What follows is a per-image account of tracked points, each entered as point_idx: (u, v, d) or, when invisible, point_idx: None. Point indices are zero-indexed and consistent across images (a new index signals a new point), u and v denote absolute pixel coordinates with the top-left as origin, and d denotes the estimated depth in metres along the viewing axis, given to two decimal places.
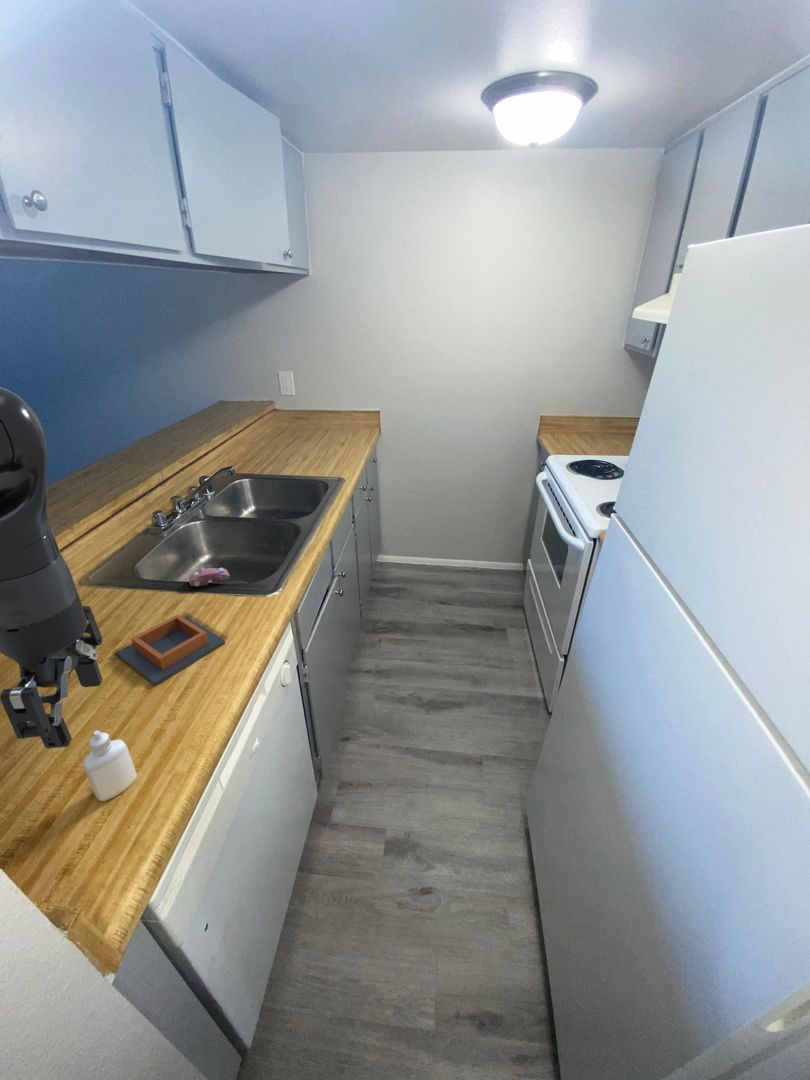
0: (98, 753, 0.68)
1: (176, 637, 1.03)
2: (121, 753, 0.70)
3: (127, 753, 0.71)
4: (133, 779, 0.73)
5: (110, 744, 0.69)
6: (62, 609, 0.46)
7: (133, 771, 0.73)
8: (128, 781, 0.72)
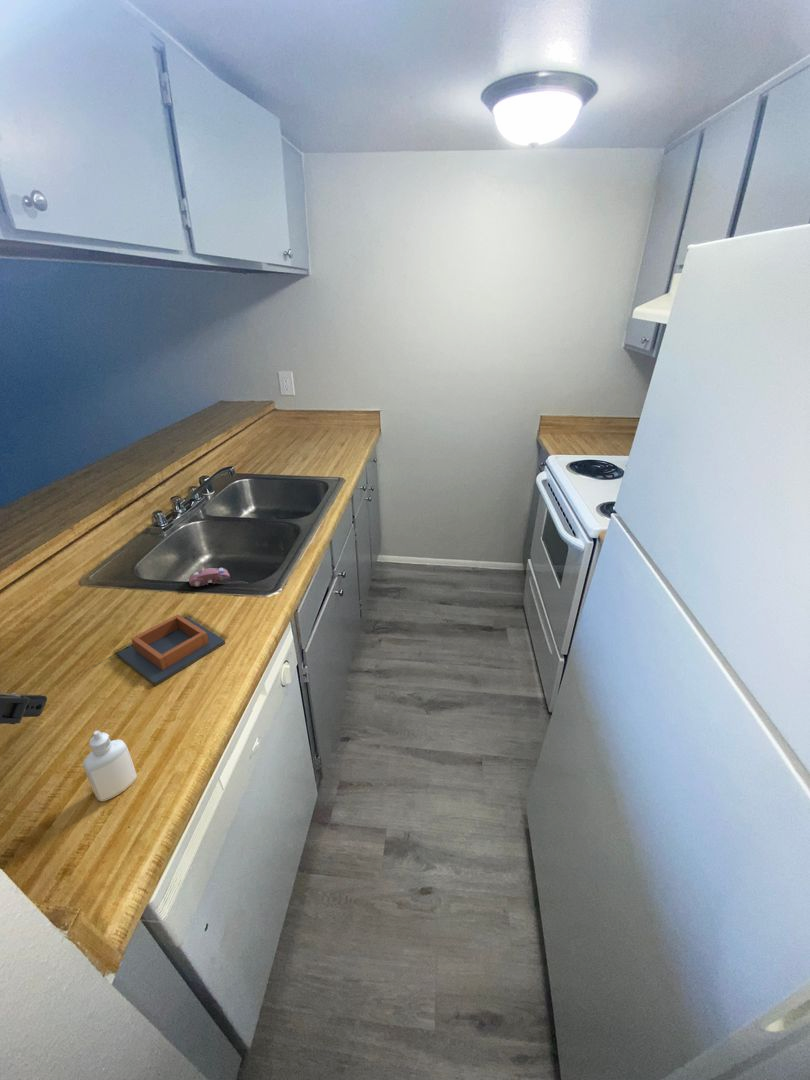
0: (98, 753, 0.68)
1: (176, 637, 1.03)
2: (121, 753, 0.70)
3: (127, 753, 0.71)
4: (133, 779, 0.73)
5: (110, 744, 0.69)
6: None
7: (133, 771, 0.73)
8: (128, 781, 0.72)
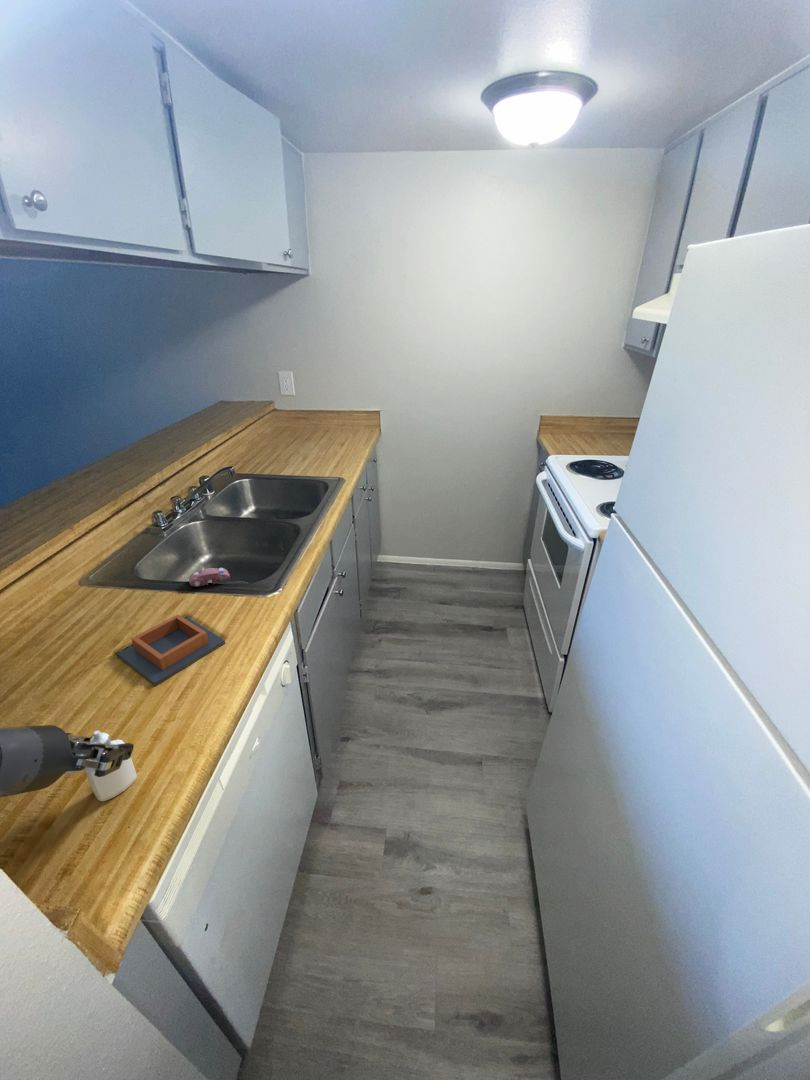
0: None
1: (176, 637, 1.03)
2: None
3: None
4: (133, 779, 0.73)
5: (110, 744, 0.69)
6: None
7: (133, 771, 0.73)
8: (128, 781, 0.72)
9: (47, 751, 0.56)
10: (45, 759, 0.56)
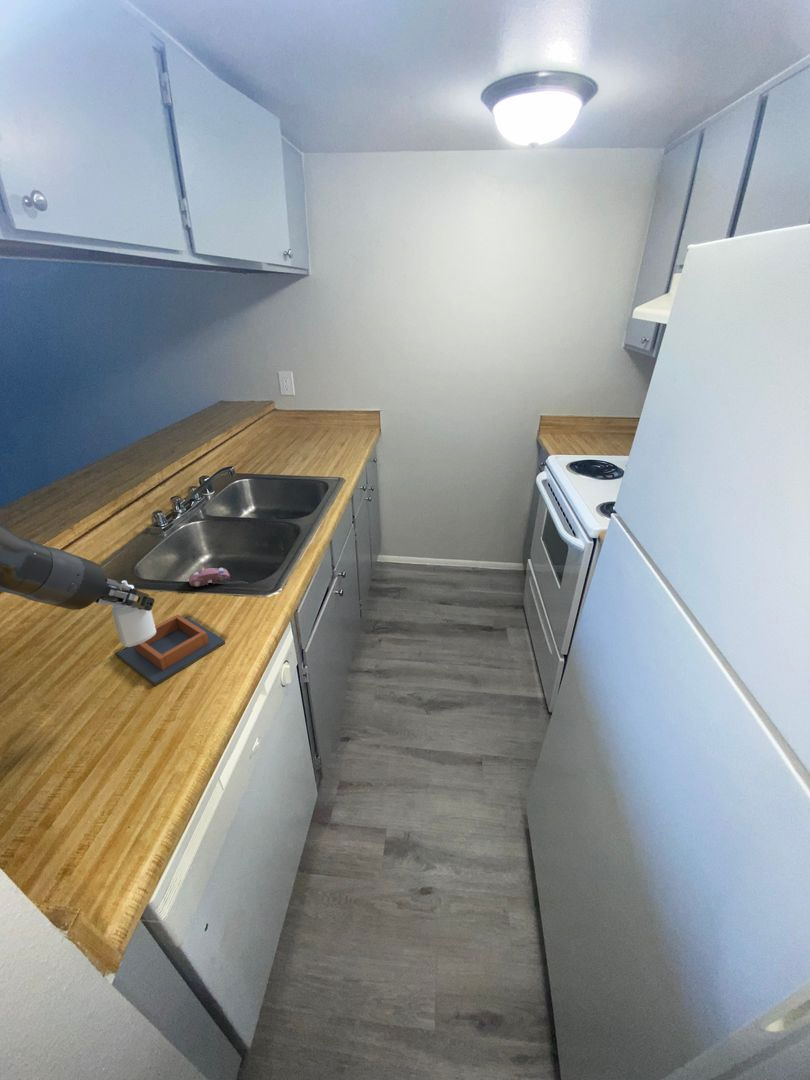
0: None
1: (176, 637, 1.03)
2: None
3: None
4: (153, 633, 0.84)
5: None
6: None
7: (153, 625, 0.84)
8: (149, 633, 0.83)
9: (87, 572, 0.67)
10: (85, 577, 0.67)
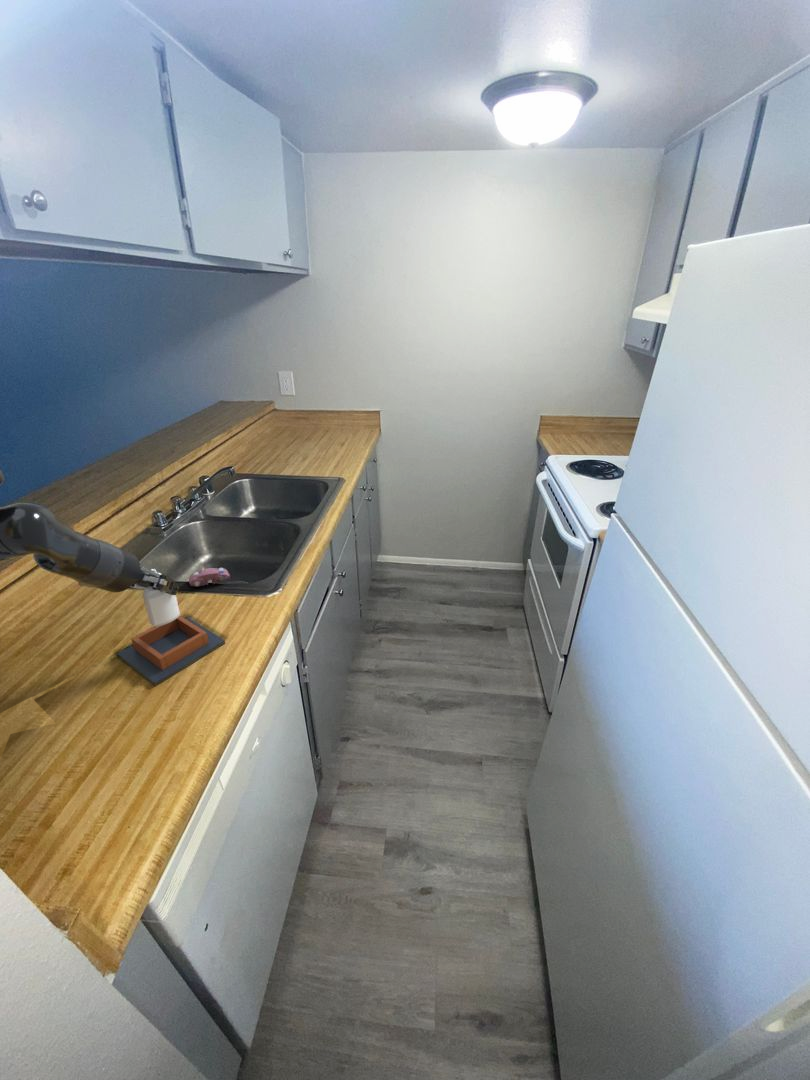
0: None
1: (176, 637, 1.03)
2: None
3: None
4: (177, 615, 0.97)
5: None
6: None
7: (177, 608, 0.97)
8: (174, 615, 0.96)
9: (126, 560, 0.80)
10: (125, 564, 0.80)
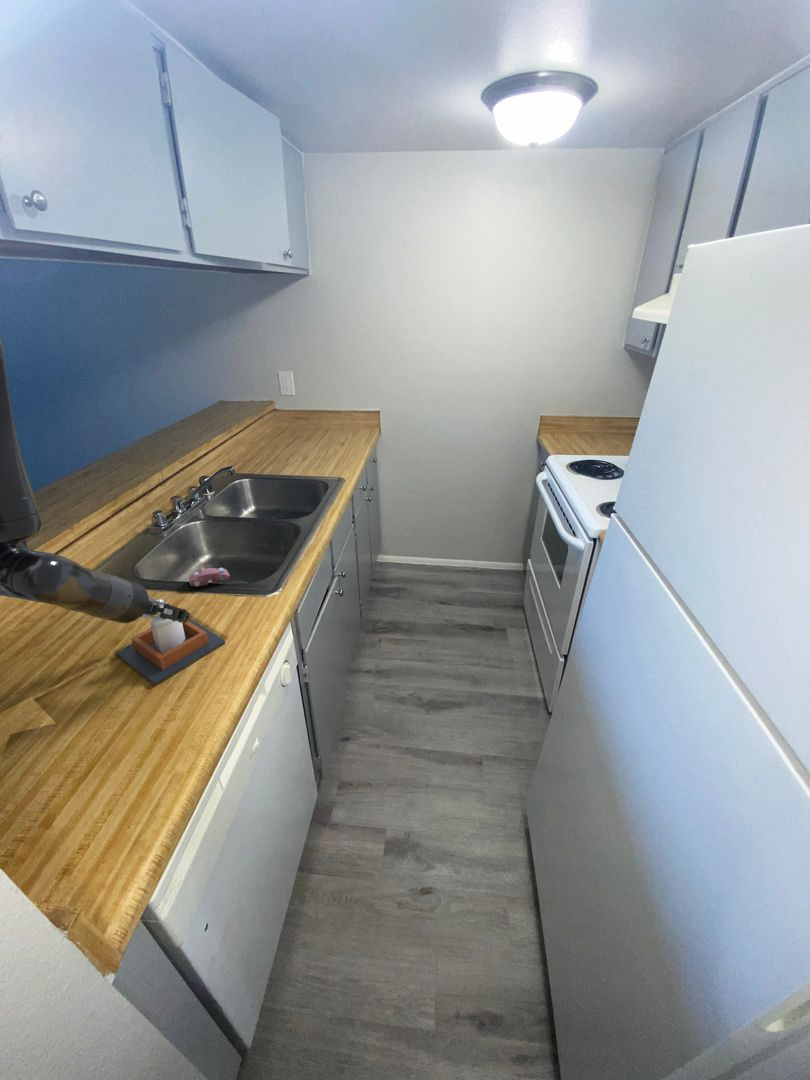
0: None
1: None
2: None
3: None
4: None
5: None
6: None
7: (184, 636, 1.00)
8: (180, 642, 1.00)
9: (135, 593, 0.83)
10: (134, 597, 0.83)
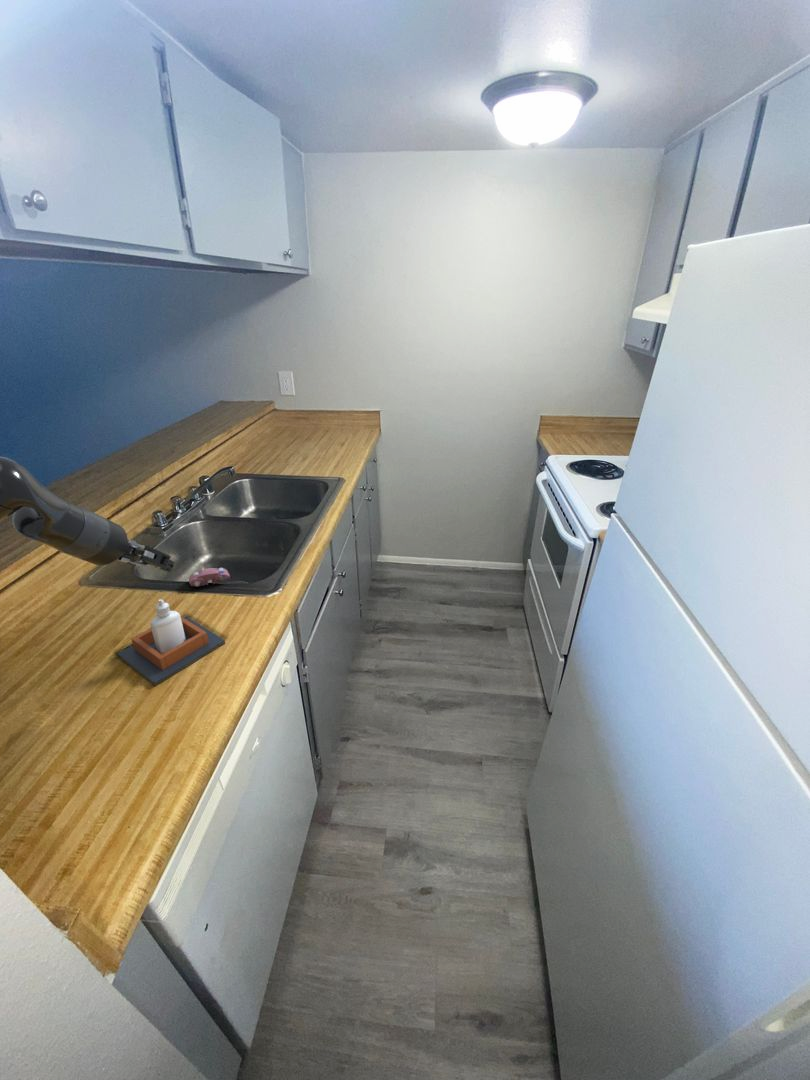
0: (161, 615, 0.95)
1: None
2: (176, 619, 0.97)
3: (180, 620, 0.98)
4: None
5: (169, 610, 0.96)
6: None
7: (184, 636, 1.00)
8: (180, 642, 1.00)
9: (112, 531, 0.76)
10: (111, 535, 0.76)
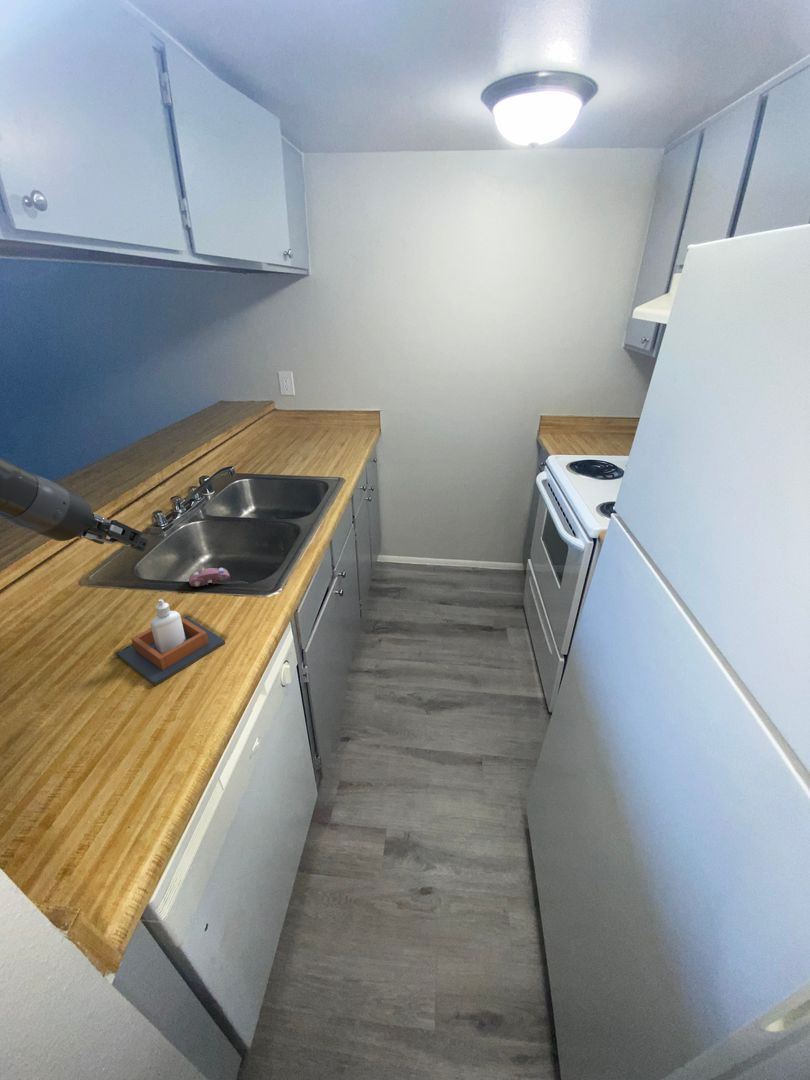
0: (161, 615, 0.95)
1: None
2: (176, 619, 0.97)
3: (180, 620, 0.98)
4: None
5: (169, 610, 0.96)
6: None
7: (184, 636, 1.00)
8: (180, 642, 1.00)
9: (73, 501, 0.68)
10: (71, 506, 0.68)
